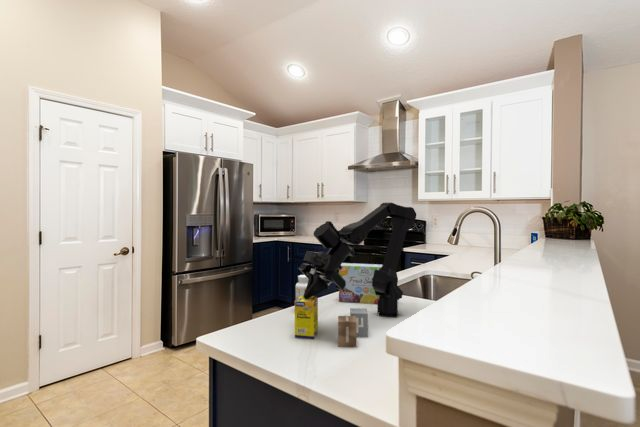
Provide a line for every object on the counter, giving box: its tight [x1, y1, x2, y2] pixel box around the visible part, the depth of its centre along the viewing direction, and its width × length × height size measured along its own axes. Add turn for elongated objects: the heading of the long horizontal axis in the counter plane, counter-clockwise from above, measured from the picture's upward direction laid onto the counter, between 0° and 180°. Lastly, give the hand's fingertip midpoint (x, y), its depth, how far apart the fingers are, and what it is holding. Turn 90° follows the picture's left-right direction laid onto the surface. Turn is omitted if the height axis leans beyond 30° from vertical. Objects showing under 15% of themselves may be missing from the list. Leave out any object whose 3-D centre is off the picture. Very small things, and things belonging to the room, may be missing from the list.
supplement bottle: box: [295, 274, 315, 301], centre depth 127 cm, size 7×7×13 cm
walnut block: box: [337, 315, 357, 348], centre depth 98 cm, size 5×5×7 cm
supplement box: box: [294, 296, 319, 340], centre depth 104 cm, size 6×6×11 cm
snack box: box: [338, 262, 383, 305], centre depth 138 cm, size 21×6×15 cm, turn 77°
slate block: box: [349, 307, 369, 338], centre depth 105 cm, size 5×5×7 cm
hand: (304, 298), depth 104 cm, fingers closed, pressing on supplement box
